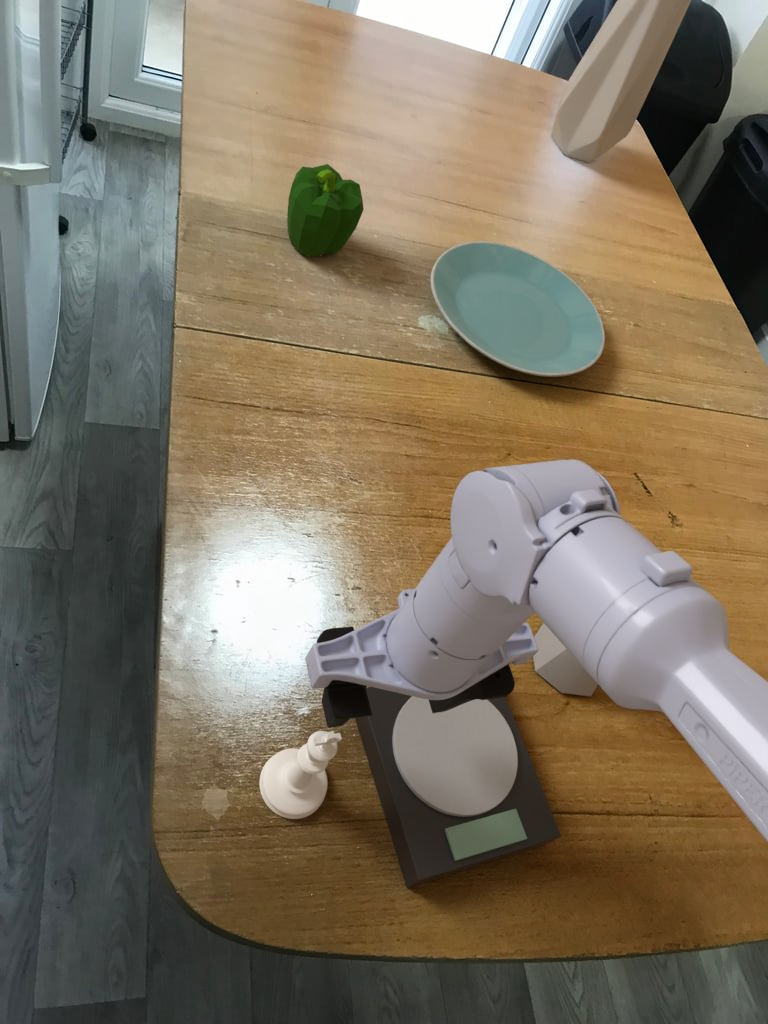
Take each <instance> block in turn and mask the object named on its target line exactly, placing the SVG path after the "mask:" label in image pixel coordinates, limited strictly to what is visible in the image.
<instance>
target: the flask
mask: <svg viewBox="0 0 768 1024" xmlns="http://www.w3.org/2000/svg"><path fill="white" fill-rule="evenodd" d="M533 636H534V639H535V641H536V644H537V647H538V649H539V651H538V652H537V653H536V654H535V655H534V656H533V657H532V658H533V665H534V672H536V674H538V675H539V676H540V677H541V678H542V679H544V680H545V681H546V682H547V683H549V684H550V685H551V686H553V688H555V689H556V690H557V691H558V692H560V693H561V694H567V695H576V696H584V697H592V696H593V695H594V692H595V691H596V689H597V687H598V686H599V685H598V684H597V683H596V681H595V680H594V679H593V678H592V677H591V676H590V675H589V673H588V672H587V671H586V670H585V669H584V668H583V666H582V665H581V664H580V663H579V662H578V661H577V660H576V659H575V657H574V656H573V655H572V654H571V653H570V652H569V651H568V650H567V648H566V647H565V646H564V645H563V644H562V643H561V642H560V641H559V639H558V638H557V637H556V636H555V635H554V634H553V633H552V632H551V630H550V629H549V628H548V627H547V626H546V625H545V624H544V622H542V625H541V626H540V627H539V629H538V631H537V632H536V633H535V635H533Z"/></svg>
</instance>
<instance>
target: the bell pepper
mask: <svg viewBox="0 0 768 1024" xmlns="http://www.w3.org/2000/svg"><path fill="white" fill-rule="evenodd" d="M363 212H364V201H363V194H362V189H361V185H360V183H358V182H356V181H354V180H352V179H343V178H342V176H341V174H340V173H339V172H338V171H337V170H336V169H334V168H333V167H332V166H331V165H330V164H328V163H325V164H323V165H317V166H314V167H309V166H301V168H300V169H299V170H298V171H297V172H296V174H295V175H294V178H293V181H292V183H291V187H290V191H289V195H288V205H287V215H286V216H287V217H286V222H287V225H286V226H287V234H288V238H289V241H290V244H291V246H292V247H293V248H294V249H295V250H296V251H297V252H299V253H300V254H302V255H304V256H306V257H308V258H320V257H321V256H323V255H328V256H331V255H335V254H337V253H339V252H340V251H341V250H342V249H343V247H344V246H345V245H346V244H347V242H348V241H349V240H350V238H351V237H352V235H353V234H354V232H355V230H356V229H357V226H358V224H359V223H360V219H361V218H362V215H363Z"/></svg>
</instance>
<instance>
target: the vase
mask: <svg viewBox="0 0 768 1024" xmlns="http://www.w3.org/2000/svg"><path fill="white" fill-rule="evenodd" d="M691 2H692V0H617V1H616V2H615V3H614V5H613V6H612V9H611V10H610V12H609V13H608V15H607V17H606V18H605V20H604V21H603V23H602V25H601V26H600V28H599V29H598V31H597V32H596V34H595V36H594V38H593V40H592V41H591V43H590V45H589V46H588V48H587V50H586V51H585V53H584V54H583V56H582V58H581V59H580V61H579V62H578V64H577V65H576V67H575V69H574V70H573V73H572V74H571V76H570V77H569V79H568V81H567V82H566V84H565V86H564V88H563V90H562V92H561V96H560V99H559V102H558V107H557V110H556V112H555V118H554V121H553V126H552V130H551V133H550V138H551V139H552V140H553V142H554V144H555V145H556V146H557V148H558V150H560V152H561V153H562V154H563V155H564V156H565V157H569V158H573V159H575V160H578V161H582V162H585V163H589V164H590V163H593V162H595V161H596V160H598V159H599V158H600V157H601V156H603V155H604V154H606V152H607V153H608V151H609V150H611V149H612V148H614V147H615V146H616V145H617V144H618V143H620V142H621V141H623V140H624V139H626V138H627V136H628V135H629V134H630V133H631V131H632V129H633V126H634V125H635V124H636V123H635V122H636V120H637V119H638V116H639V114H640V112H641V109H642V108H643V106H644V104H645V101H646V99H647V97H648V95H649V93H650V91H651V88H652V86H653V84H654V81H655V79H656V78H657V76H658V74H659V71H660V69H661V67H662V65H663V63H664V61H665V59H666V56H667V54H668V52H669V49H670V47H671V46H672V44H673V42H674V39H675V37H676V34H677V33H678V30H679V28H680V26H681V24H682V22H683V19H684V17H685V15H686V13H687V10H688V9H689V7H690V4H691Z"/></svg>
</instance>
